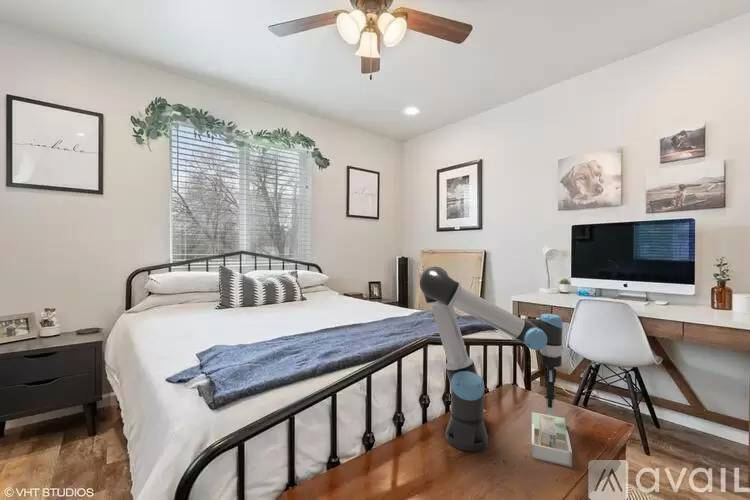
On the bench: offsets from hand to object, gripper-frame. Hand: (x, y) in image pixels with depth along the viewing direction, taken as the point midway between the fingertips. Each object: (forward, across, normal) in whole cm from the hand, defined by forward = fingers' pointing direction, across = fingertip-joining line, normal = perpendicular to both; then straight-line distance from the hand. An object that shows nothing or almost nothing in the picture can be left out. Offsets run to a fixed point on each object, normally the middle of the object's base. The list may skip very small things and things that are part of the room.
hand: (549, 414), depth 137 cm
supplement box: (+2, -7, +1) cm, 8 cm away
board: (+6, 0, 0) cm, 6 cm away
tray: (+6, -15, 0) cm, 16 cm away
